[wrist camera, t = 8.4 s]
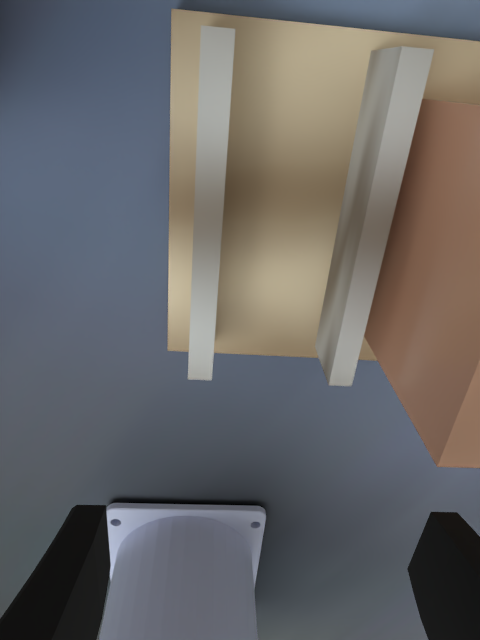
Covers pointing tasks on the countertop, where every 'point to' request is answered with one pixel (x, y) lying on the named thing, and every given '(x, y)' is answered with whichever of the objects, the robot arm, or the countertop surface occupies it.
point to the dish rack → (290, 179)
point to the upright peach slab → (435, 285)
